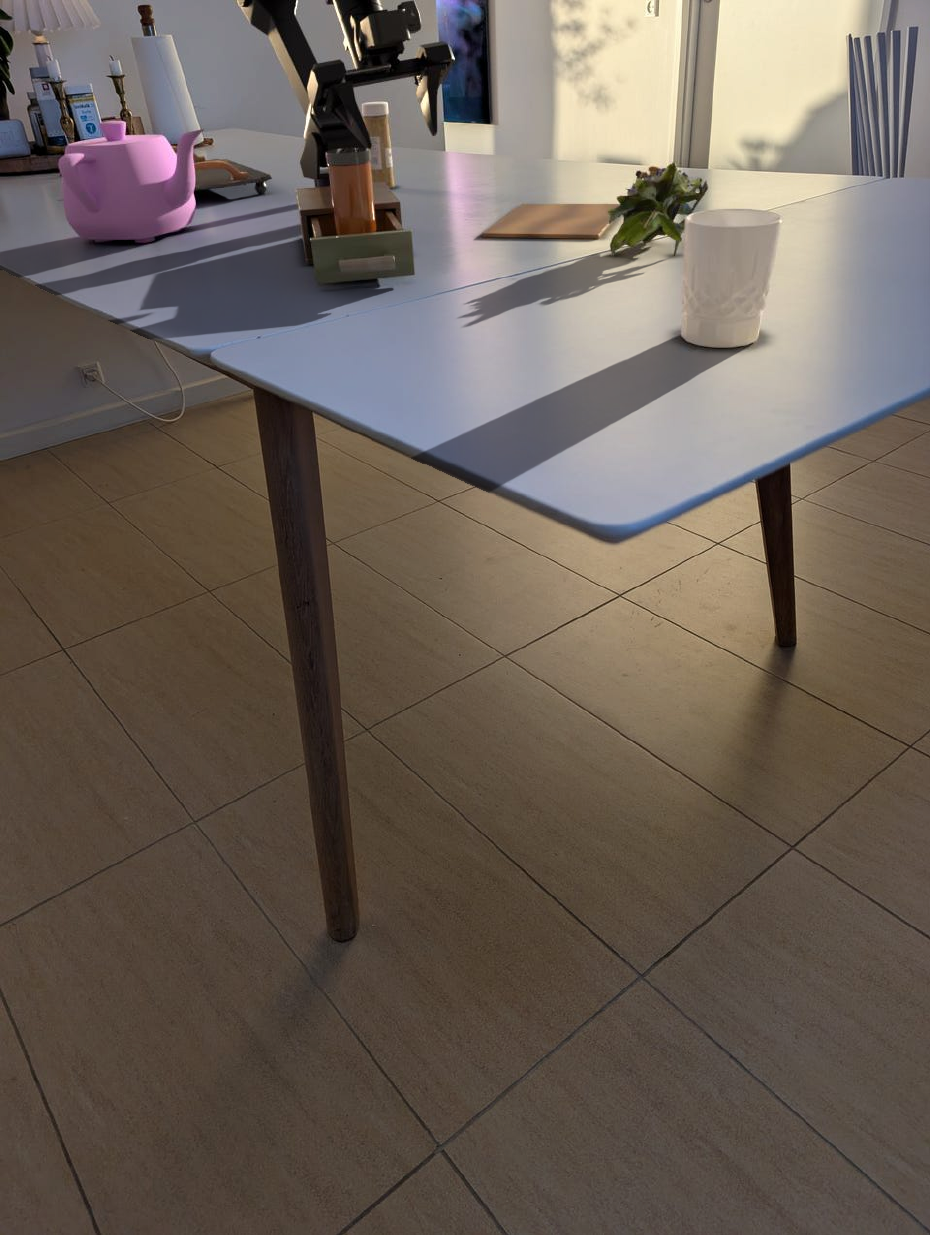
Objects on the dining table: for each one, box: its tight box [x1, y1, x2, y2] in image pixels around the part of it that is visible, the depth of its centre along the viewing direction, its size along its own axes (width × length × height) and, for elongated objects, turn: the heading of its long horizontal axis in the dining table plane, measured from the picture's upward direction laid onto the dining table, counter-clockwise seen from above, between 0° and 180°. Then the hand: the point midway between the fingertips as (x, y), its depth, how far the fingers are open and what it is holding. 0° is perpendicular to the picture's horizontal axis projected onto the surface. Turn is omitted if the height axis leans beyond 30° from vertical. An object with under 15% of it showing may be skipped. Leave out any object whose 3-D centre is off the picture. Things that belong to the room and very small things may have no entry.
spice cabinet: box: [295, 182, 403, 266], centre depth 118 cm, size 17×12×6 cm
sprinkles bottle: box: [361, 101, 395, 189], centre depth 156 cm, size 5×5×14 cm
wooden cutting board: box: [481, 203, 620, 240], centre depth 127 cm, size 16×22×1 cm
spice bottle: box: [326, 148, 377, 236], centre depth 103 cm, size 5×5×11 cm
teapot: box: [58, 120, 205, 244], centre depth 127 cm, size 23×21×15 cm
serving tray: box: [171, 145, 273, 196], centre depth 167 cm, size 39×23×6 cm, turn 28°
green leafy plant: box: [608, 161, 709, 257], centre depth 107 cm, size 11×11×12 cm
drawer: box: [310, 209, 416, 285], centre depth 104 cm, size 21×11×5 cm, turn 11°
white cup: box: [680, 208, 783, 349], centre depth 77 cm, size 8×8×10 cm
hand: (402, 141), depth 114 cm, fingers open, 9 cm apart
